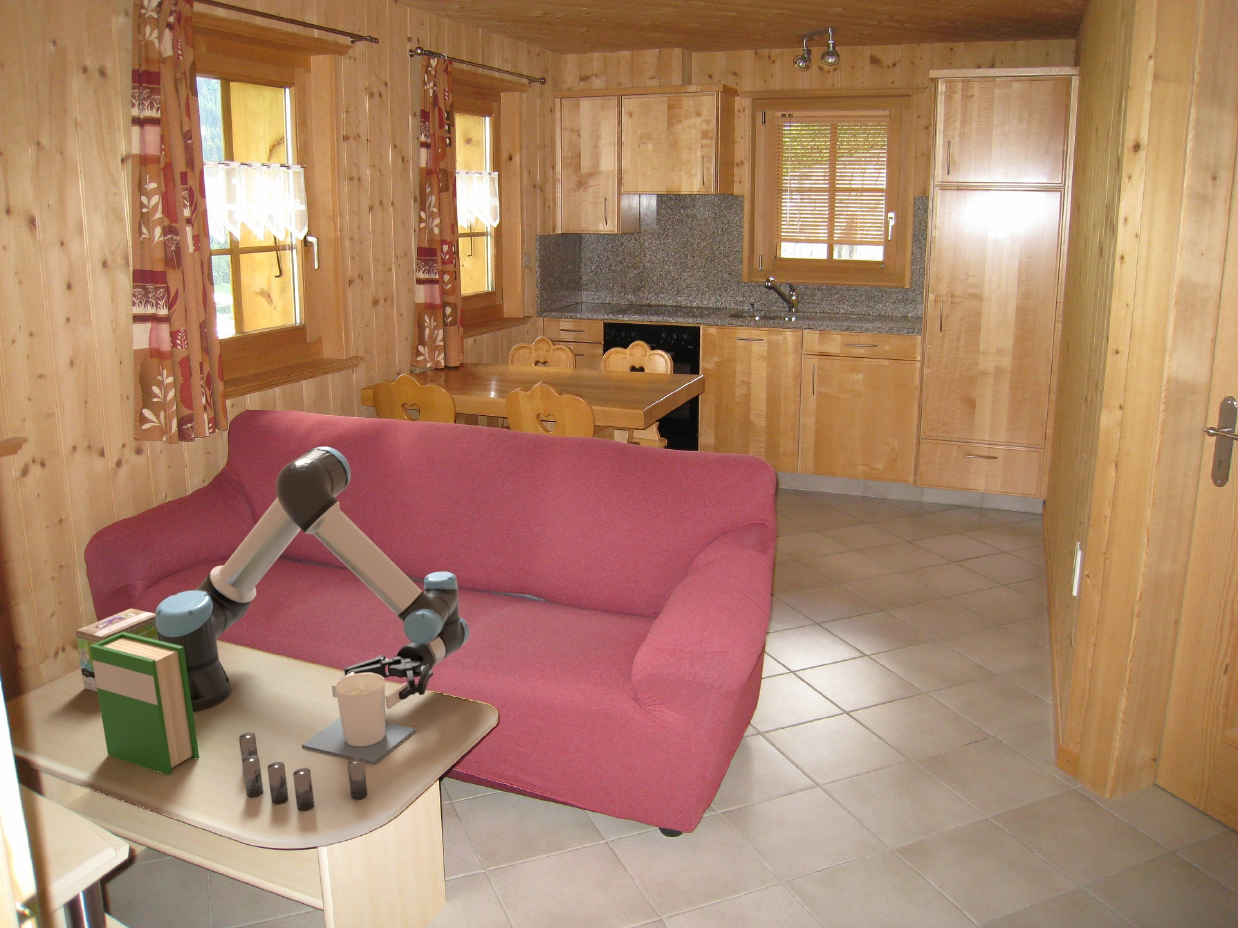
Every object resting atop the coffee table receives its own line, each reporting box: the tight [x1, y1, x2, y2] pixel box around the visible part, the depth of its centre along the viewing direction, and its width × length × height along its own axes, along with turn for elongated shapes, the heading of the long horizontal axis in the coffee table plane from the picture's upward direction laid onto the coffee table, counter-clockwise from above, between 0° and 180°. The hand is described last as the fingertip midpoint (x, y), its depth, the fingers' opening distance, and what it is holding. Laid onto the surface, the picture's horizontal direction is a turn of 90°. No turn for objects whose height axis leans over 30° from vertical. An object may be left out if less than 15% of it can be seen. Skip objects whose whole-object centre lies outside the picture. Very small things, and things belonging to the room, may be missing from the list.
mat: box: [301, 717, 417, 765], centre depth 207 cm, size 18×14×1 cm
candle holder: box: [335, 673, 387, 747], centre depth 205 cm, size 10×10×12 cm
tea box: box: [75, 608, 159, 692], centre depth 235 cm, size 15×10×15 cm, turn 155°
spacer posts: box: [238, 731, 368, 812], centre depth 188 cm, size 29×10×7 cm, turn 66°
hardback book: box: [90, 632, 200, 776], centre depth 199 cm, size 18×7×24 cm, turn 63°
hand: (360, 696), depth 205 cm, fingers open, 13 cm apart
